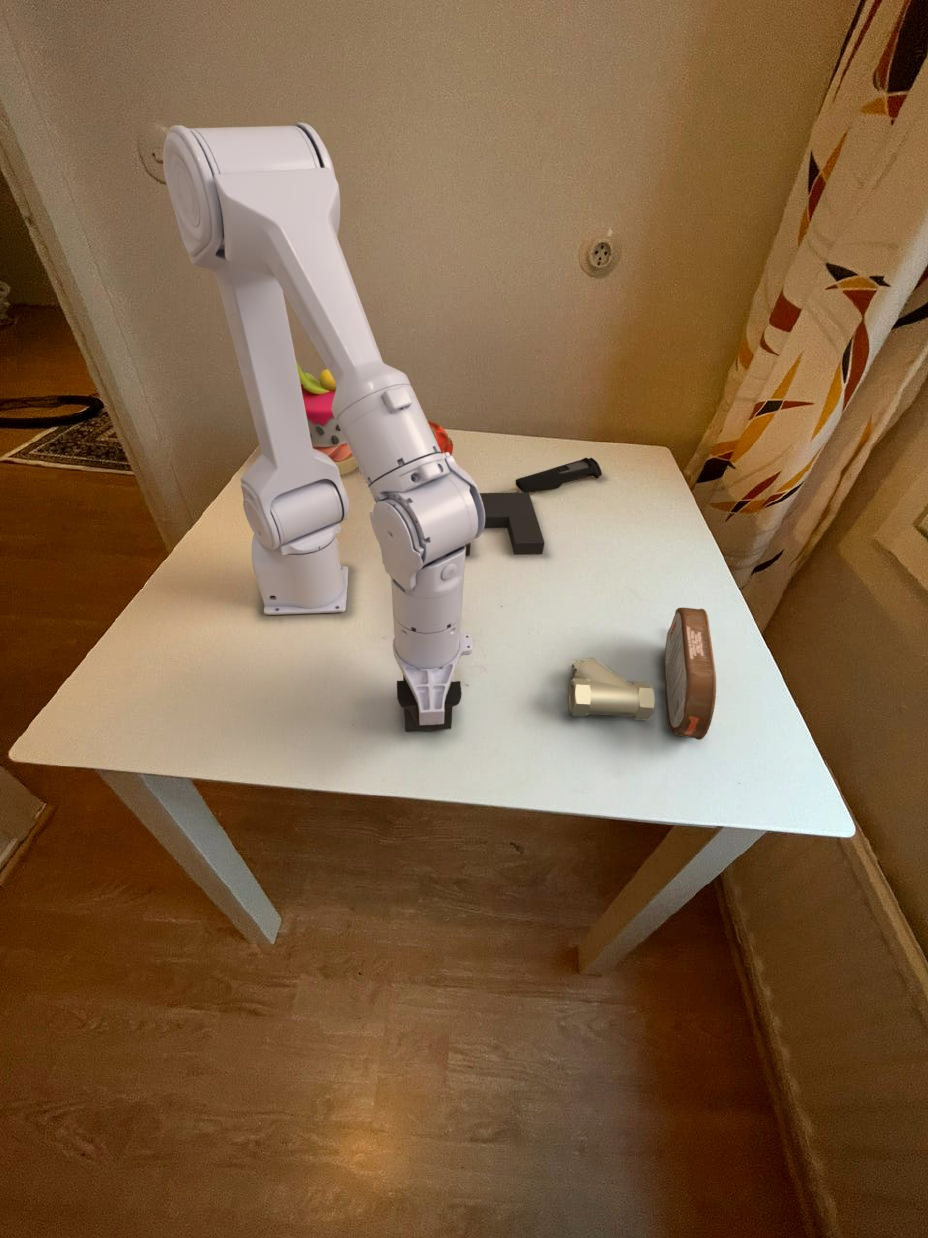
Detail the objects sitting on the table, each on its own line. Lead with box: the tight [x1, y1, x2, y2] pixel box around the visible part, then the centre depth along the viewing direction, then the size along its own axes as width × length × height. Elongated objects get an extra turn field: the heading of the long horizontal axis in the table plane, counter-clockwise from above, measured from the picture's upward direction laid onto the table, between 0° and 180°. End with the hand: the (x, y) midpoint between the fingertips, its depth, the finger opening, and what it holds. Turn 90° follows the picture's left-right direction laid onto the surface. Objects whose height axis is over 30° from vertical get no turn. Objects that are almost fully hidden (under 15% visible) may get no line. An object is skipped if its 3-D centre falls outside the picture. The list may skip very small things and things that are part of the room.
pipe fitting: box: [567, 657, 656, 721], centre depth 59 cm, size 8×4×7 cm
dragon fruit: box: [427, 419, 454, 456], centre depth 87 cm, size 8×8×12 cm
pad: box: [402, 674, 454, 732], centre depth 56 cm, size 5×5×4 cm
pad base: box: [465, 491, 546, 557], centre depth 79 cm, size 14×12×2 cm
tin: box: [664, 607, 717, 741], centre depth 58 cm, size 15×3×8 cm, turn 168°
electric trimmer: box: [515, 457, 603, 494], centre depth 88 cm, size 4×16×3 cm, turn 118°
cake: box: [296, 360, 359, 476], centre depth 85 cm, size 10×11×15 cm
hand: (427, 703), depth 56 cm, fingers closed on pad, 4 cm apart
